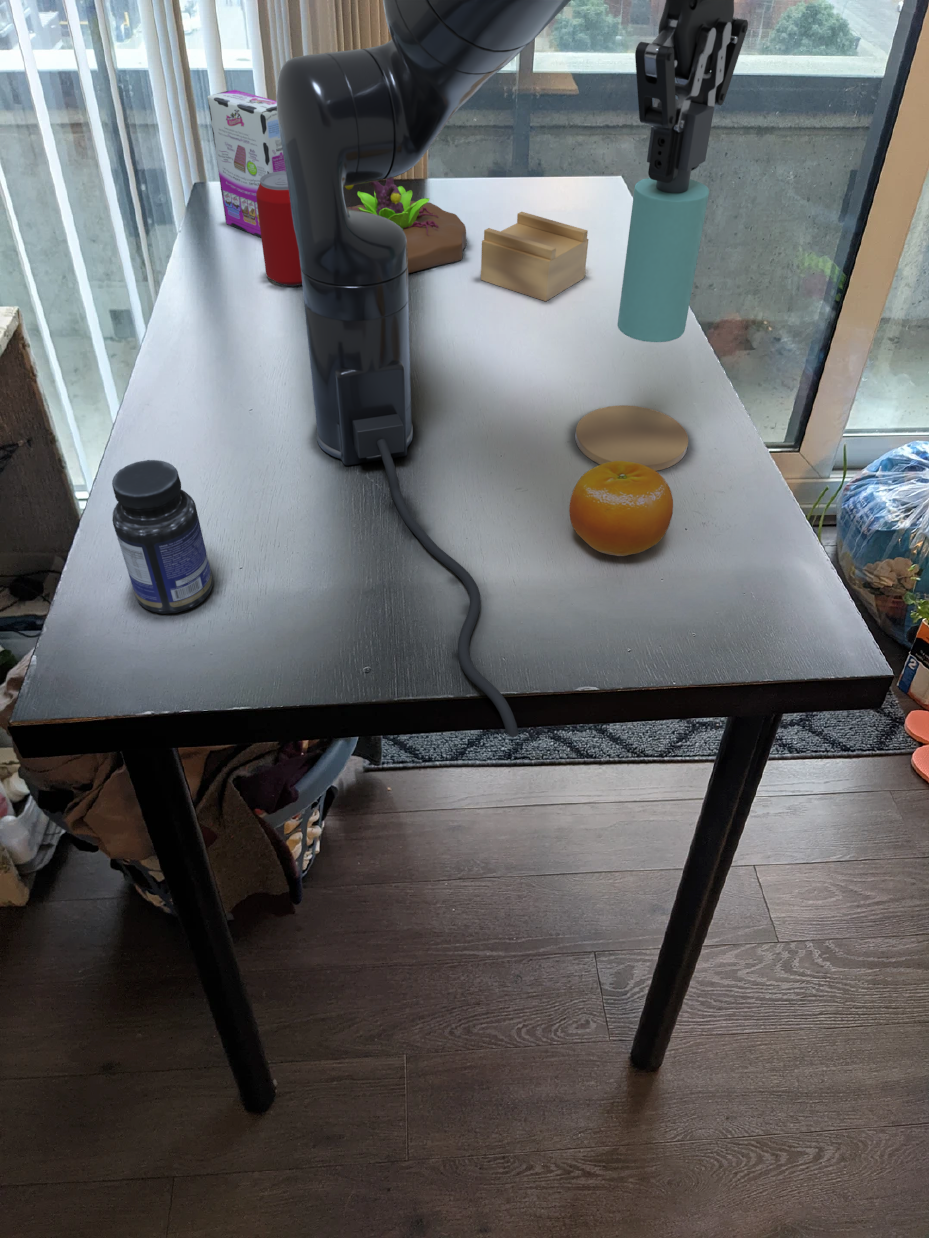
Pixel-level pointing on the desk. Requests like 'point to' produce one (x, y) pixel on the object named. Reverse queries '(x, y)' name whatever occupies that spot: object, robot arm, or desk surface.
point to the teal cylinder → (666, 241)
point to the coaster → (631, 436)
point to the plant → (417, 225)
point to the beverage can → (278, 230)
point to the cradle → (534, 256)
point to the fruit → (621, 508)
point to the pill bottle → (160, 537)
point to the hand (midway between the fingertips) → (673, 173)
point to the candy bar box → (244, 152)
